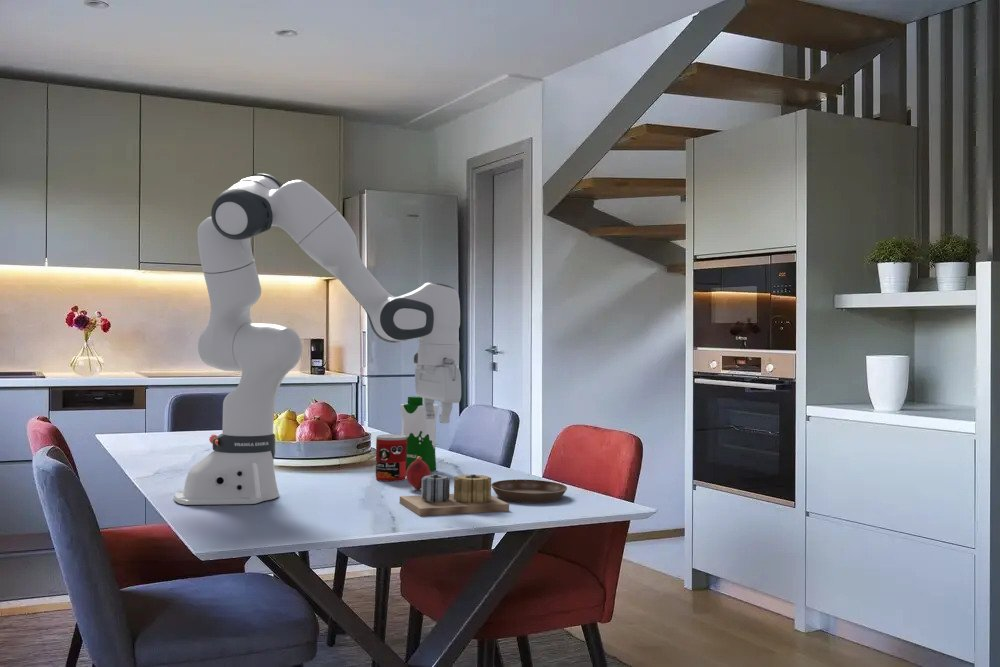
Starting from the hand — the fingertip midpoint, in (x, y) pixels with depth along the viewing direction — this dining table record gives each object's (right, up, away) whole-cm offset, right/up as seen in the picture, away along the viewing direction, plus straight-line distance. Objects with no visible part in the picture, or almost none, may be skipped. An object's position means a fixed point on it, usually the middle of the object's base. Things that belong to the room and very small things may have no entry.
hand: (436, 421), depth 210 cm
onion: (-6, -19, +21) cm, 29 cm away
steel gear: (0, -17, -1) cm, 17 cm away
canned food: (-14, -18, +36) cm, 43 cm away
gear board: (+4, -19, 0) cm, 19 cm away
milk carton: (-8, -18, +51) cm, 55 cm away
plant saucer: (+20, -20, +14) cm, 32 cm away
